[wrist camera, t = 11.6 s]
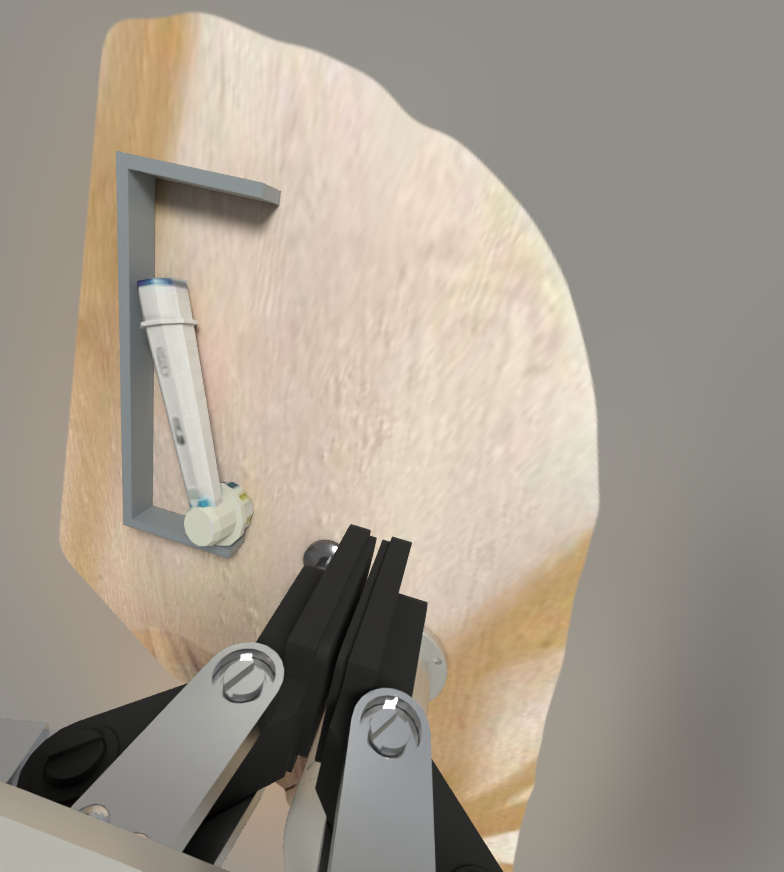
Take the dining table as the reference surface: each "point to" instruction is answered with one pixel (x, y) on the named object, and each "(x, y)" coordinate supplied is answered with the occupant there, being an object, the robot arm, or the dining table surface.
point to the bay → (134, 344)
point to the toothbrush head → (190, 414)
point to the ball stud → (320, 553)
